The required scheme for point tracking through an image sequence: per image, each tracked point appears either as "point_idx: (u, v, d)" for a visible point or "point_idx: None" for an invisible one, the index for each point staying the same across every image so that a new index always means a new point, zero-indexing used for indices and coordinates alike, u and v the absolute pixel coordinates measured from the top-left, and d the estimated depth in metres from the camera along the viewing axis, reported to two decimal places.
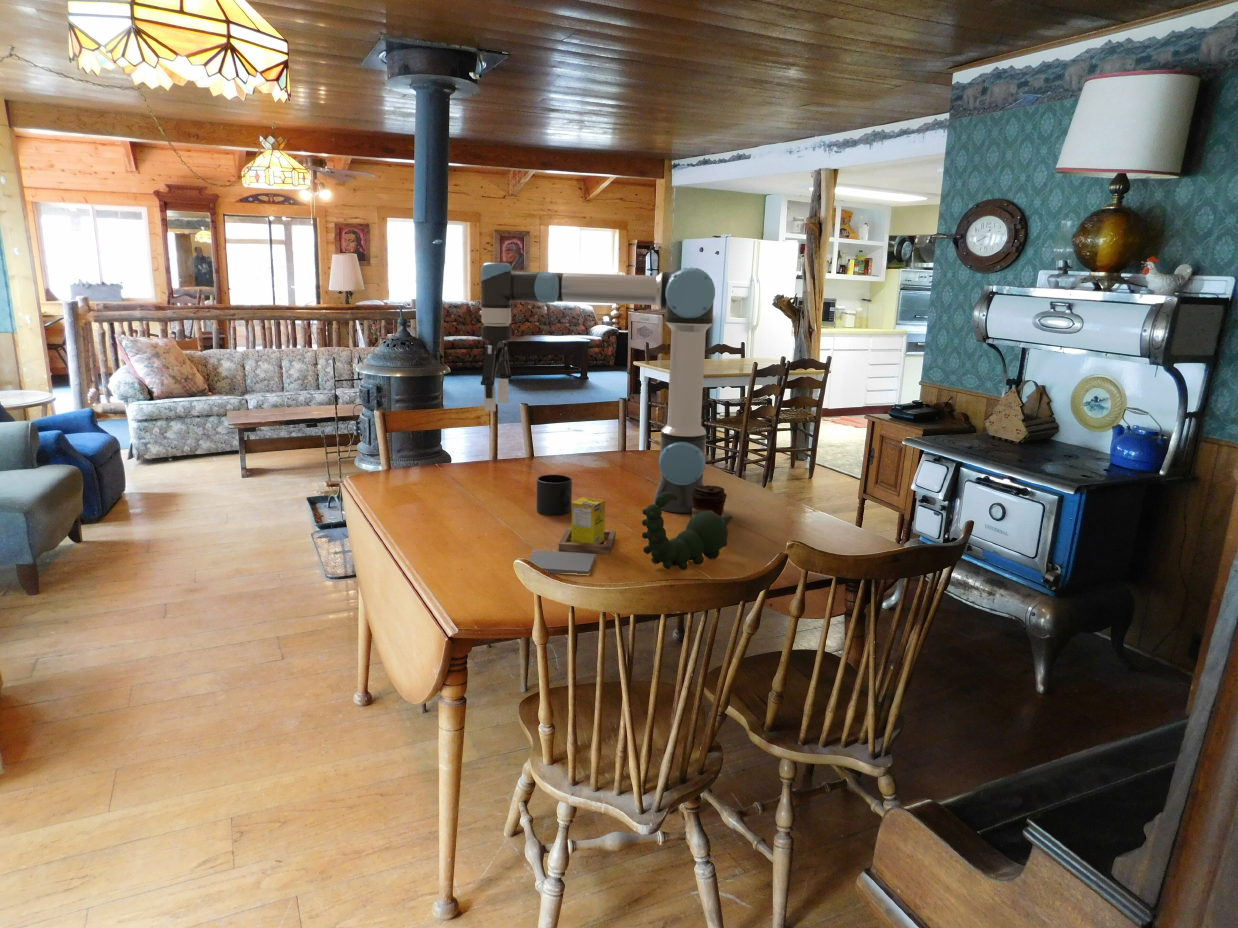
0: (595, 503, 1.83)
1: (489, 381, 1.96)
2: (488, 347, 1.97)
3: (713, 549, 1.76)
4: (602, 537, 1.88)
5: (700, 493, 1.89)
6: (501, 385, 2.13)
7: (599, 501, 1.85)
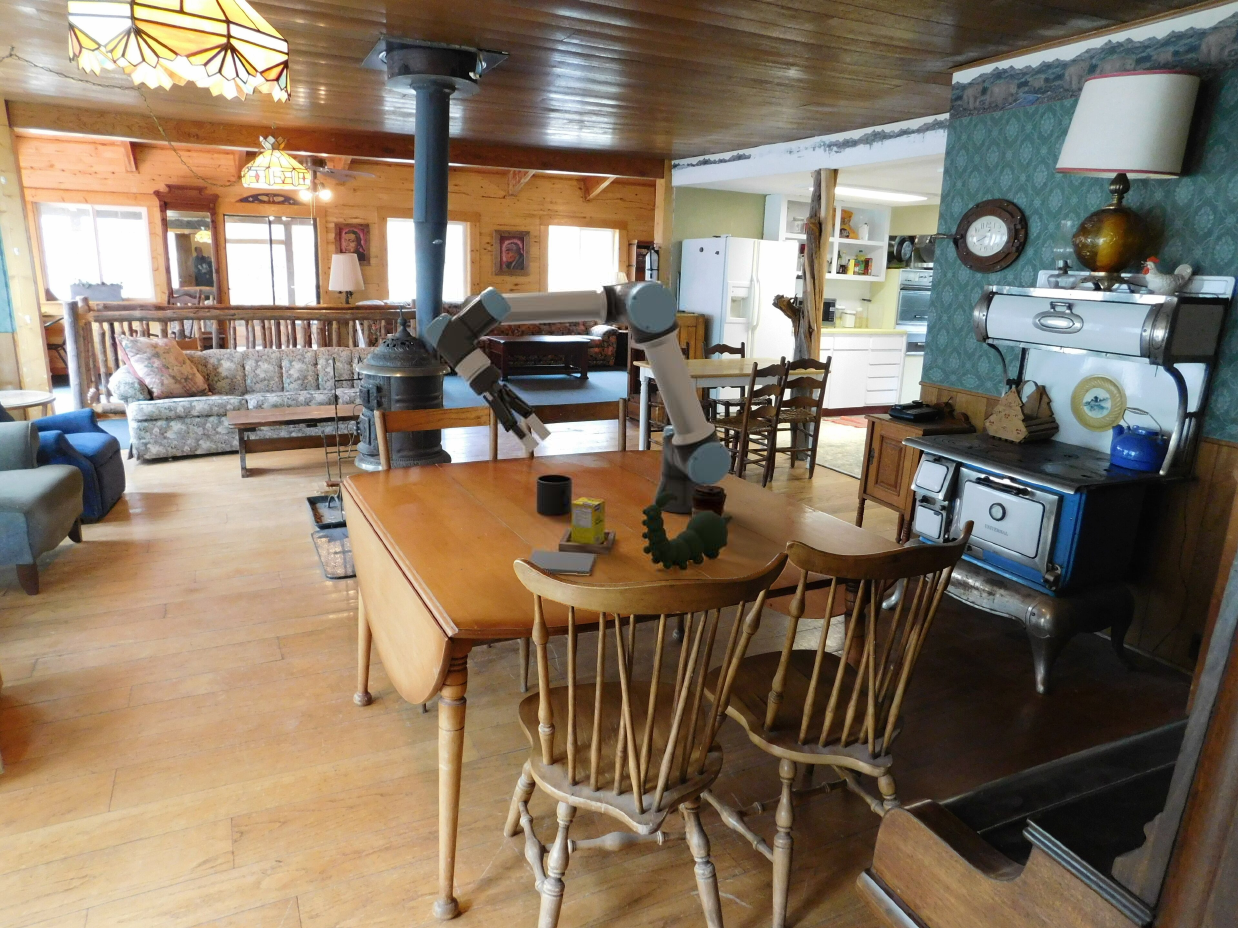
0: (595, 503, 1.83)
1: (510, 421, 1.73)
2: (486, 395, 1.76)
3: (713, 549, 1.76)
4: (602, 537, 1.88)
5: (700, 493, 1.89)
6: (532, 423, 1.90)
7: (599, 501, 1.85)
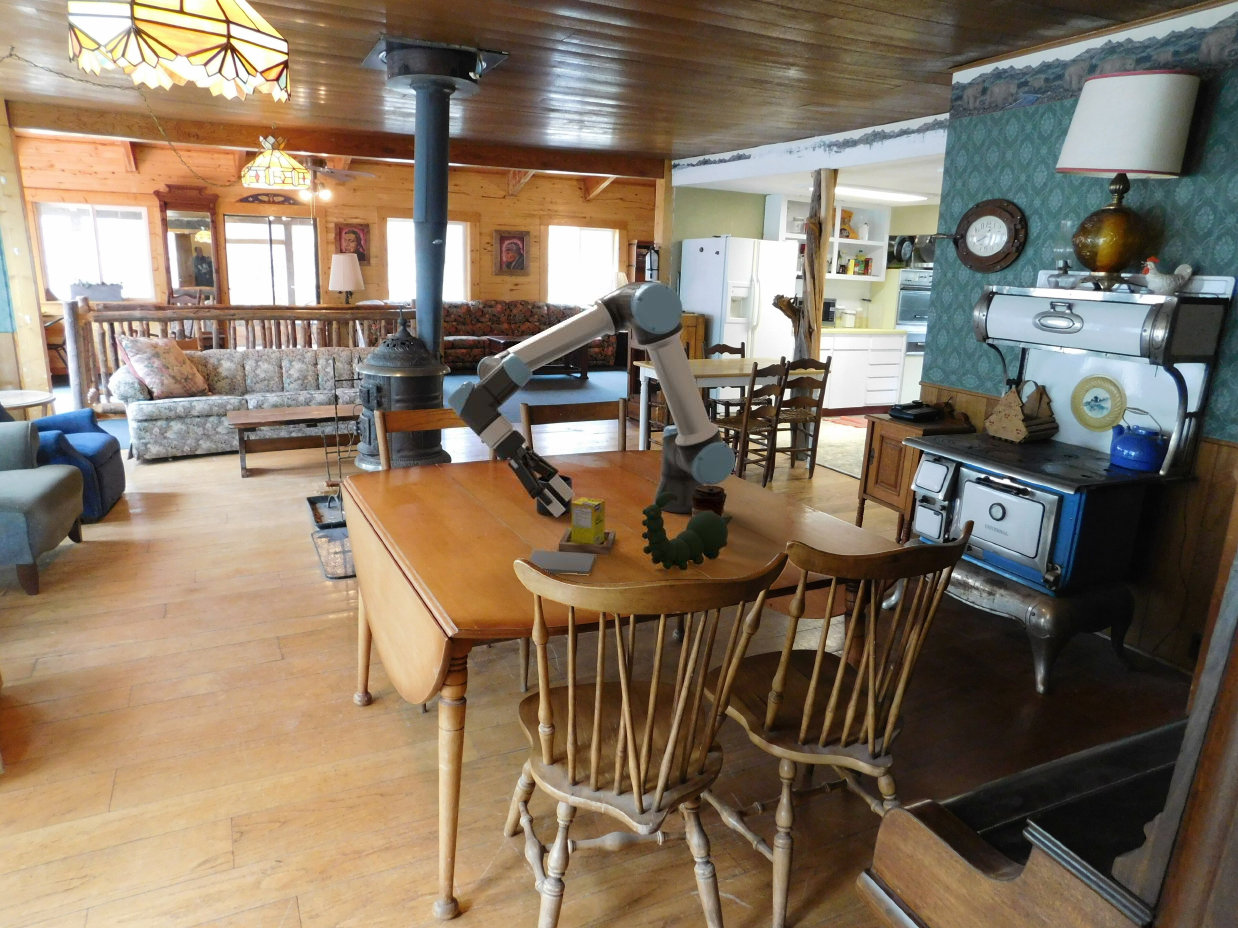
0: (595, 503, 1.83)
1: (536, 489, 1.75)
2: (511, 462, 1.77)
3: (713, 549, 1.76)
4: (602, 537, 1.88)
5: (700, 493, 1.89)
6: (556, 484, 1.91)
7: (599, 501, 1.85)
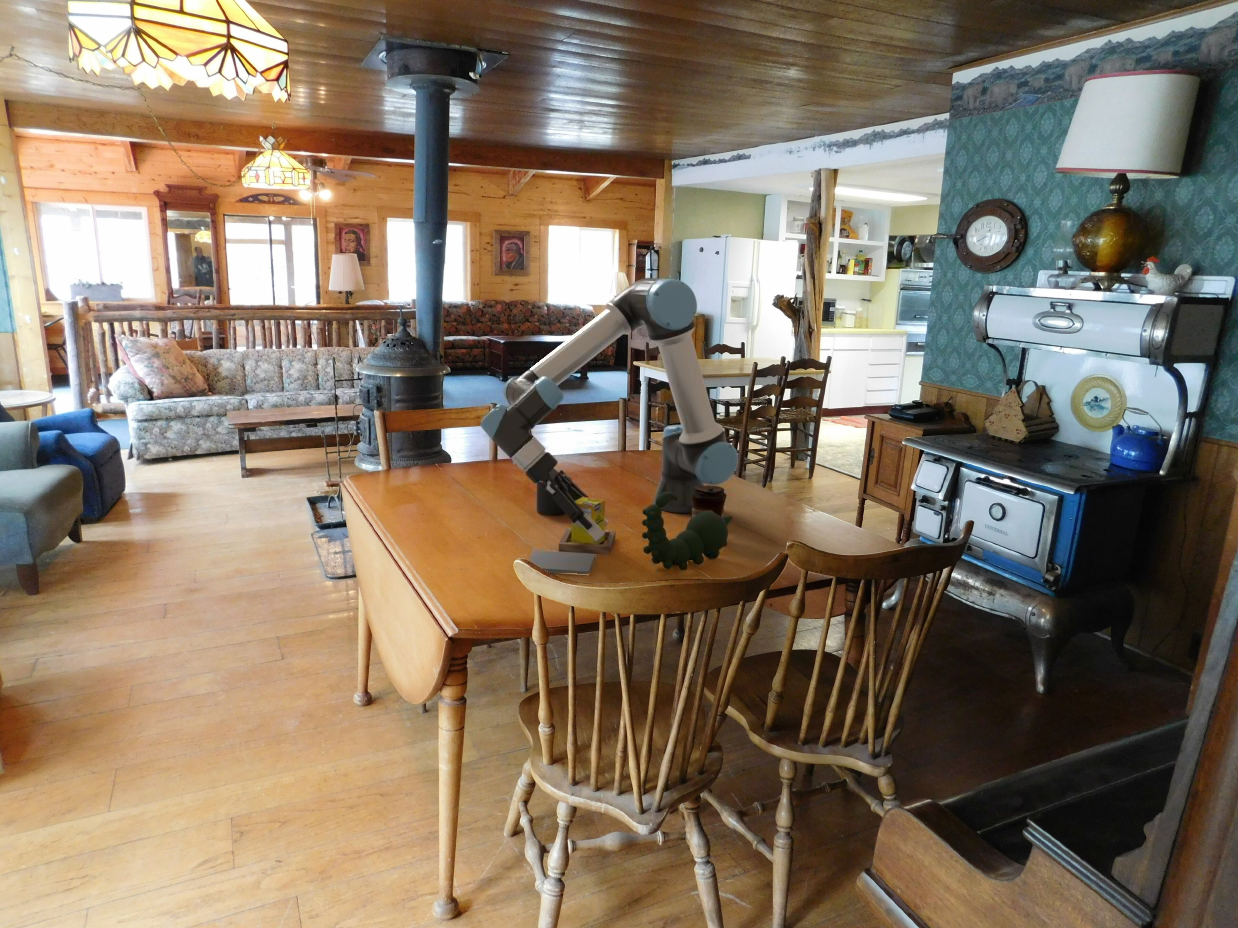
0: (595, 503, 1.83)
1: (577, 514, 1.78)
2: (548, 489, 1.78)
3: (713, 549, 1.76)
4: (602, 537, 1.88)
5: (700, 493, 1.89)
6: None
7: (599, 501, 1.85)
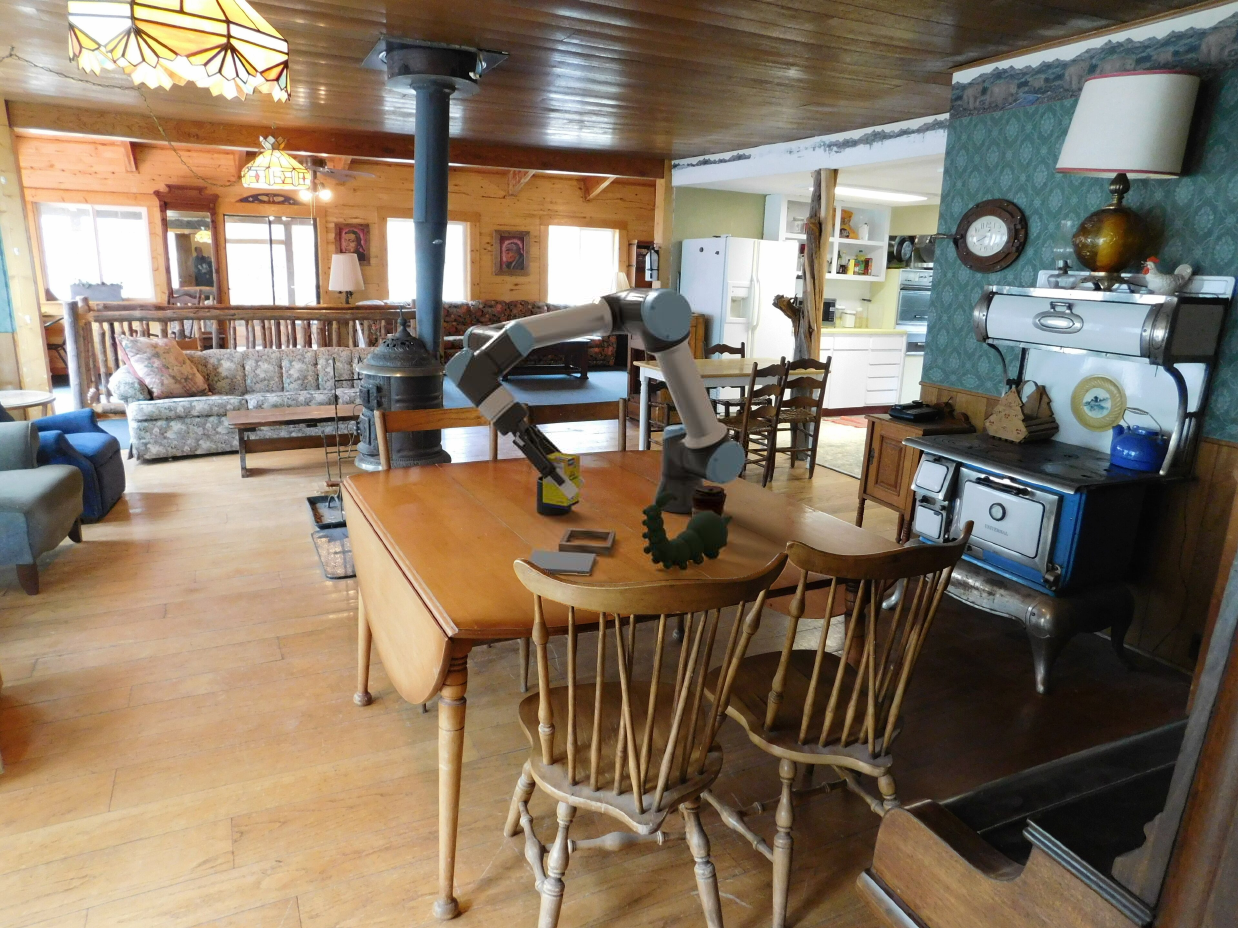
0: (569, 457, 1.68)
1: (548, 469, 1.63)
2: (516, 440, 1.63)
3: (713, 549, 1.76)
4: (577, 496, 1.72)
5: (700, 493, 1.89)
6: None
7: (573, 456, 1.69)
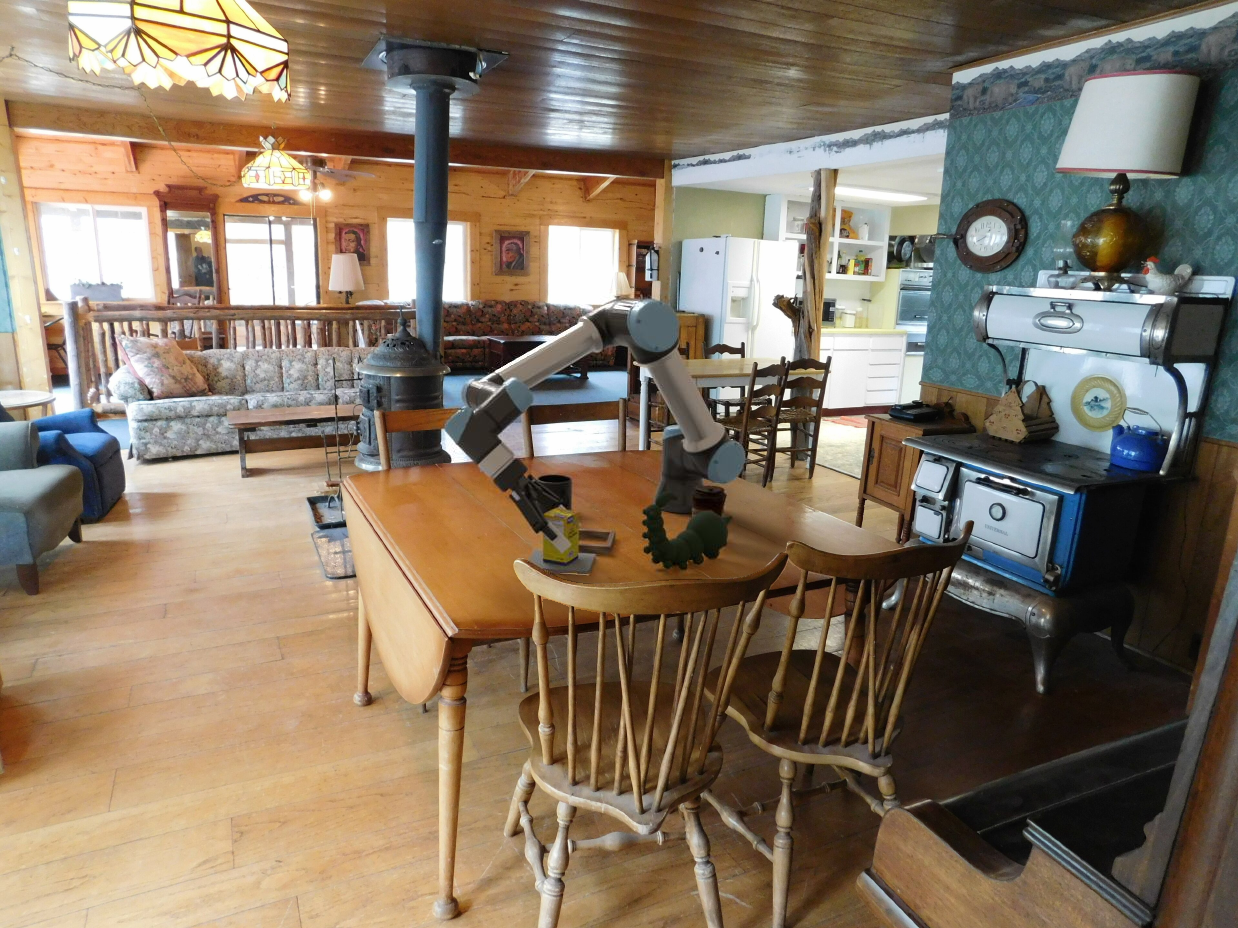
0: (568, 515, 1.70)
1: (540, 524, 1.62)
2: (512, 494, 1.65)
3: (713, 549, 1.76)
4: (576, 551, 1.74)
5: (700, 493, 1.89)
6: None
7: (572, 513, 1.72)
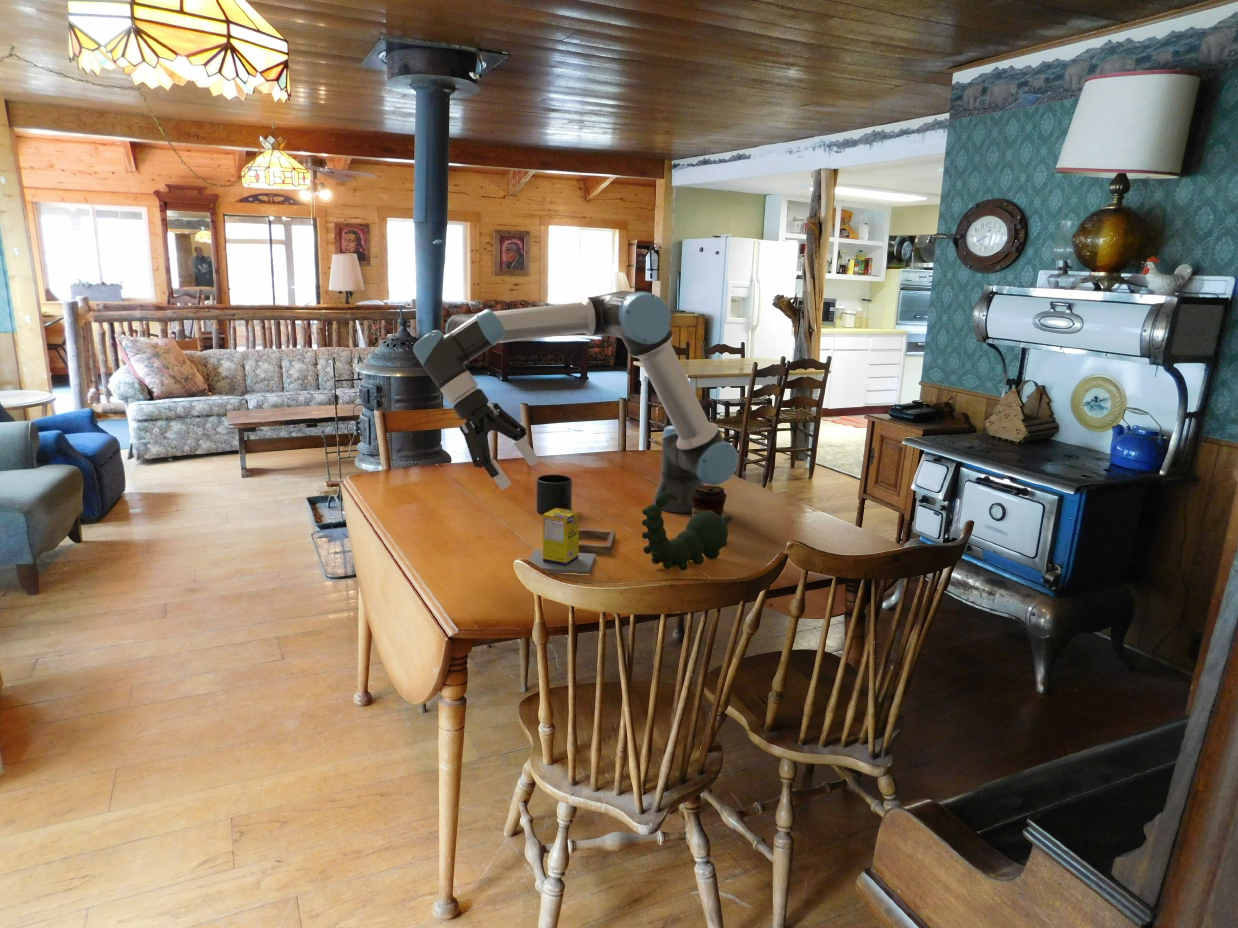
0: (568, 515, 1.70)
1: (479, 461, 1.67)
2: (462, 426, 1.69)
3: (713, 549, 1.76)
4: (576, 551, 1.74)
5: (700, 493, 1.89)
6: (521, 447, 1.82)
7: (572, 513, 1.72)
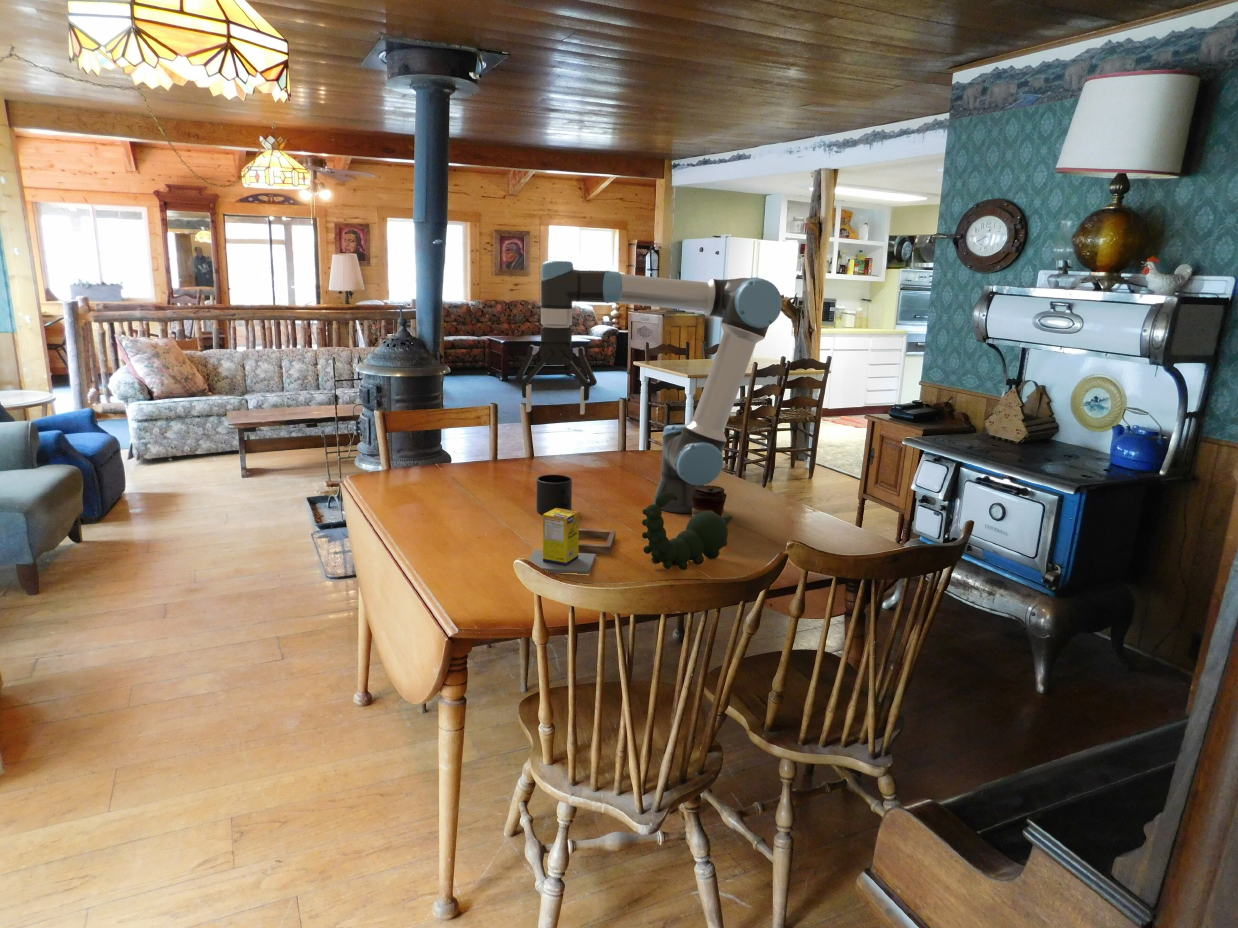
0: (568, 515, 1.70)
1: None
2: None
3: (713, 549, 1.76)
4: (576, 551, 1.74)
5: (700, 493, 1.89)
6: None
7: (572, 513, 1.72)
